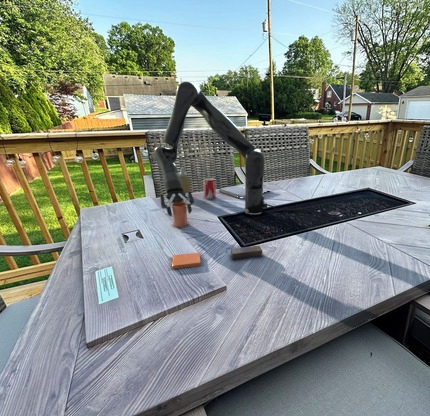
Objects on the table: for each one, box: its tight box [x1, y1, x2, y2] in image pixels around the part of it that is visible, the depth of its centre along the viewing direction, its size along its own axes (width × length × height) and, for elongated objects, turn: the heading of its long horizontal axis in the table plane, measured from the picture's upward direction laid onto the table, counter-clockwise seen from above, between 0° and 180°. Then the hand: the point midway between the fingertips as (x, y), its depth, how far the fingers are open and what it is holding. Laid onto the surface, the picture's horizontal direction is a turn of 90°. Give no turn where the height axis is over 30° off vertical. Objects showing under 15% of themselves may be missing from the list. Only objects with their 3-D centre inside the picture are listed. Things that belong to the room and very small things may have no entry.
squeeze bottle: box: [178, 166, 192, 198], centre depth 158 cm, size 8×8×18 cm
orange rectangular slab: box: [172, 252, 202, 270], centre depth 91 cm, size 9×7×1 cm
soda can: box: [203, 177, 217, 200], centre depth 159 cm, size 7×7×12 cm
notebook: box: [219, 183, 245, 200], centre depth 177 cm, size 22×2×28 cm
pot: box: [171, 202, 188, 228], centre depth 119 cm, size 6×6×10 cm
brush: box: [230, 245, 263, 261], centre depth 96 cm, size 11×4×3 cm, turn 108°
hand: (180, 214), depth 118 cm, fingers open, 8 cm apart
